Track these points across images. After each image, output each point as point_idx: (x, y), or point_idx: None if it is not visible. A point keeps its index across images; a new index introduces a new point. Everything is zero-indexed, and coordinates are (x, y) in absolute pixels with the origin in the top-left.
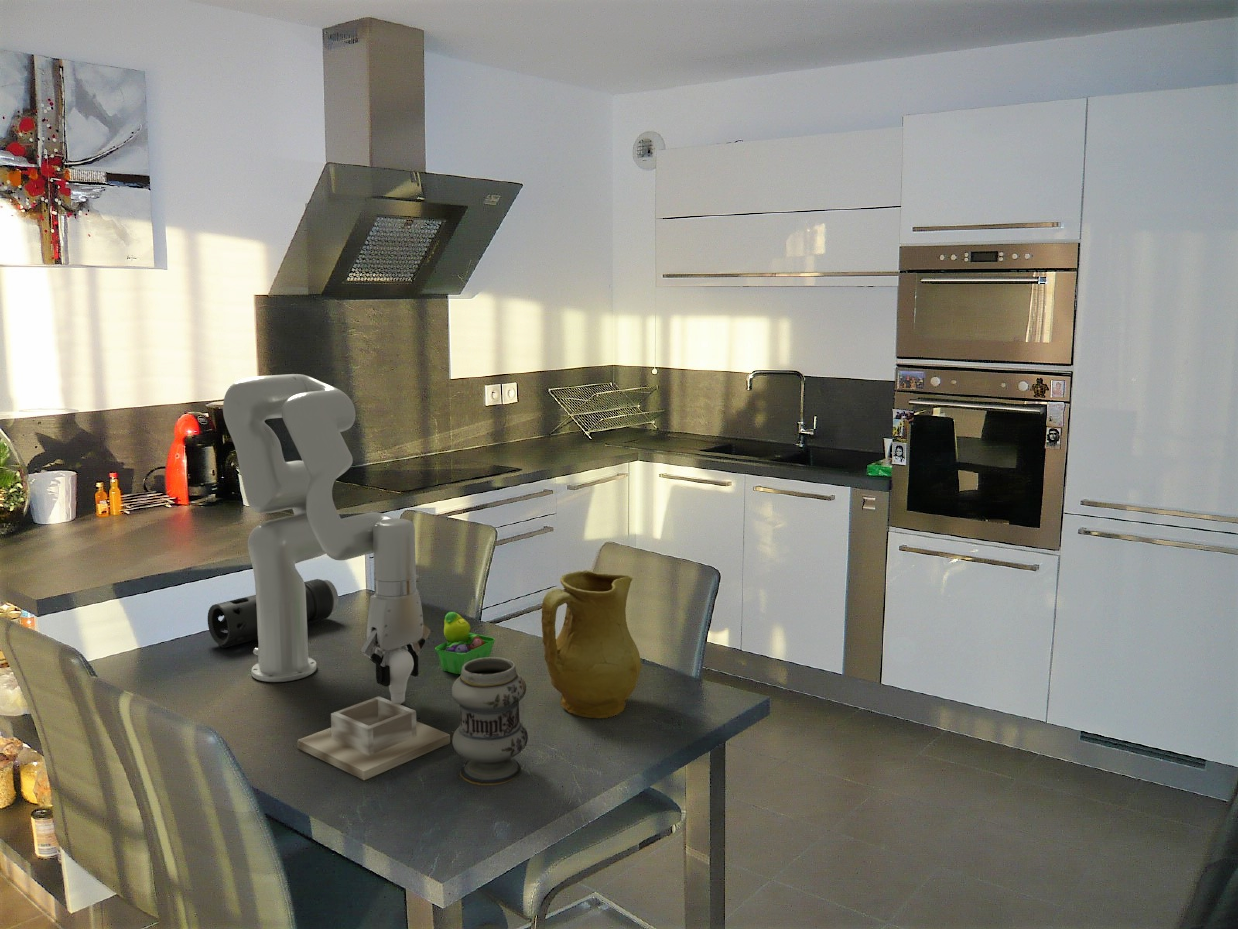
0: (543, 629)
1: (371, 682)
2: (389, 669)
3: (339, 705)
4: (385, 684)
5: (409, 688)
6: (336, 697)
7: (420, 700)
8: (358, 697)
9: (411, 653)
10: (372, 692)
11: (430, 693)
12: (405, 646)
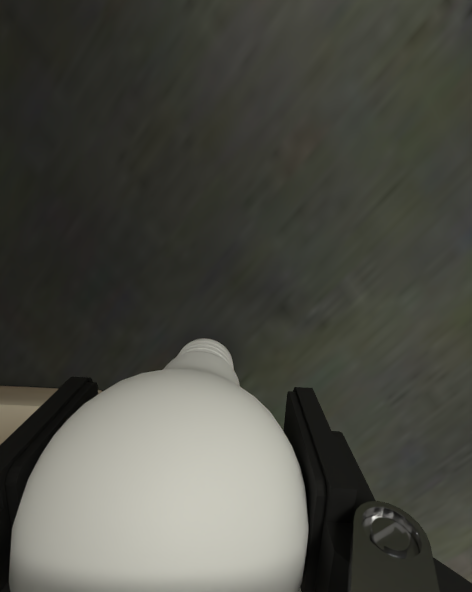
0: None
1: (318, 42)
2: None
3: (35, 164)
4: None
5: (362, 262)
6: (77, 64)
7: (290, 389)
8: (149, 157)
9: (323, 587)
10: (230, 162)
11: (366, 369)
12: (350, 581)
